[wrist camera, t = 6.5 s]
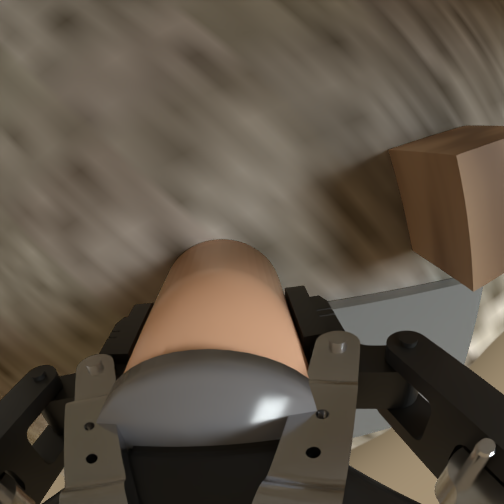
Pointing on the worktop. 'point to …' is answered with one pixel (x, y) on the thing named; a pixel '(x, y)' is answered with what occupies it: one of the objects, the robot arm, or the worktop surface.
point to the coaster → (410, 324)
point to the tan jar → (213, 356)
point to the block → (455, 200)
